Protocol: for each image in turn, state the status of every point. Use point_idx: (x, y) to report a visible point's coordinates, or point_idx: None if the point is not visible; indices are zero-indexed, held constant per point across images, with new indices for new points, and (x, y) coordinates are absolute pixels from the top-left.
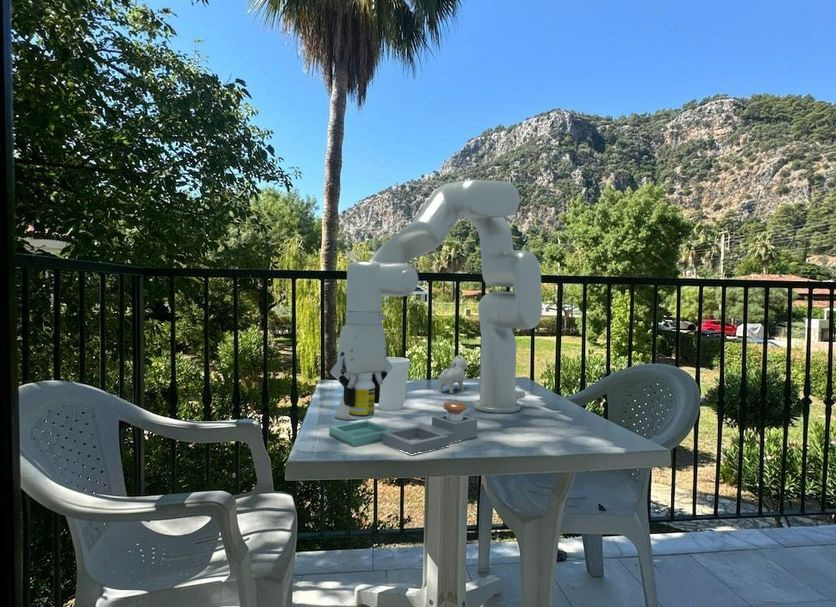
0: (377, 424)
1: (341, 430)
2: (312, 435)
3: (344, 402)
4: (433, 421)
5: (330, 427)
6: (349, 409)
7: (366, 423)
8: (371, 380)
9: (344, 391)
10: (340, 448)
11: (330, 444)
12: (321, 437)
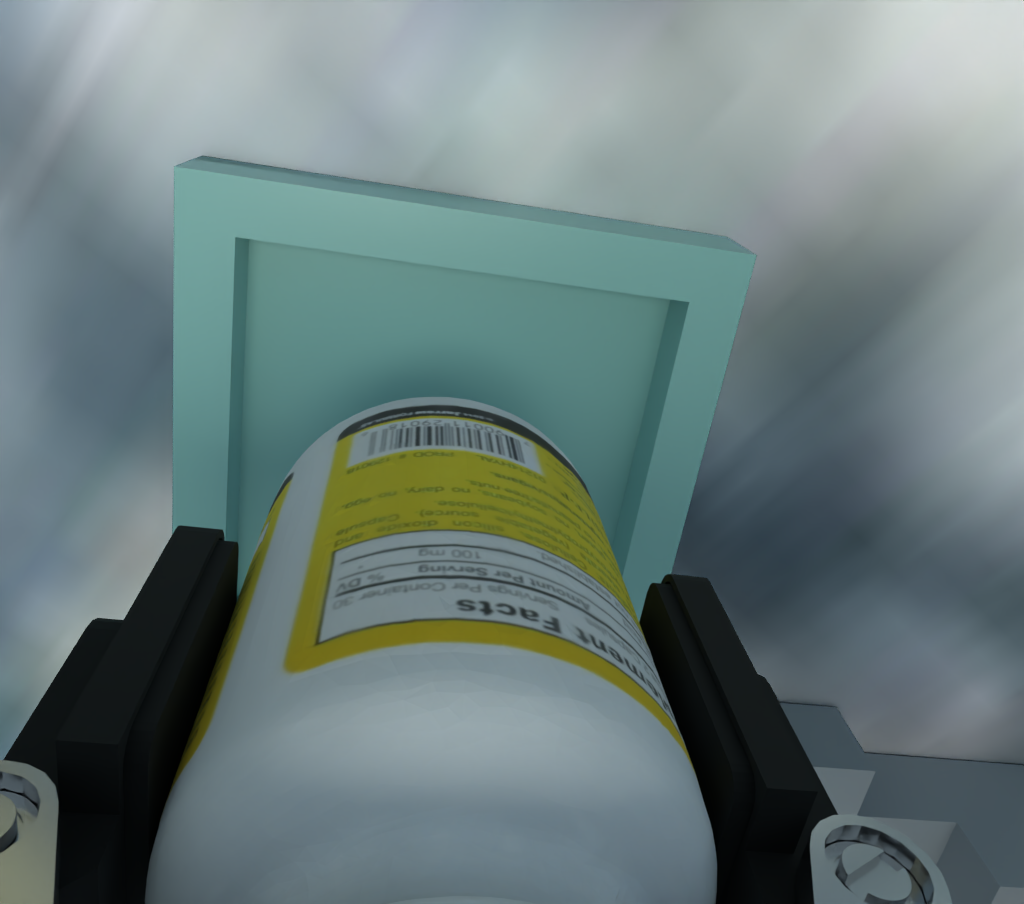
0: (688, 463)
1: (217, 389)
2: (25, 4)
3: (174, 535)
4: (970, 868)
5: (175, 196)
6: (259, 540)
7: (680, 297)
8: (801, 887)
9: (25, 752)
10: (72, 570)
11: (49, 426)
12: (84, 159)
